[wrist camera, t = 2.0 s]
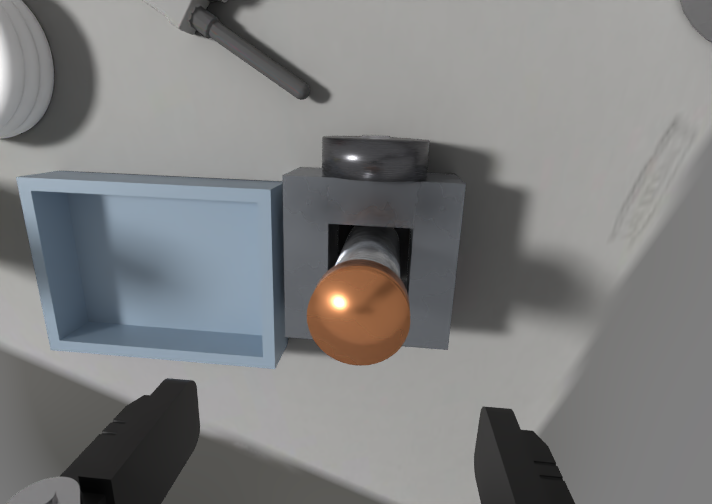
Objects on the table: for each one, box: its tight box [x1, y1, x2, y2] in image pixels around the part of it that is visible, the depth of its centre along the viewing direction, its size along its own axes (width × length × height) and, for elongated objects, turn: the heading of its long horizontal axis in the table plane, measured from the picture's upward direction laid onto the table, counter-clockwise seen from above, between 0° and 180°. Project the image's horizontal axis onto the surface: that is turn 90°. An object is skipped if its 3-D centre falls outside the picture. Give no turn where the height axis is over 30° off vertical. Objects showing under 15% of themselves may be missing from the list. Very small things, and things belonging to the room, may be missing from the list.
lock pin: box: [307, 225, 410, 365], centre depth 23 cm, size 4×4×12 cm
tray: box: [16, 171, 288, 369], centre depth 29 cm, size 16×12×4 cm
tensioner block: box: [283, 135, 466, 350], centre depth 26 cm, size 10×12×6 cm
